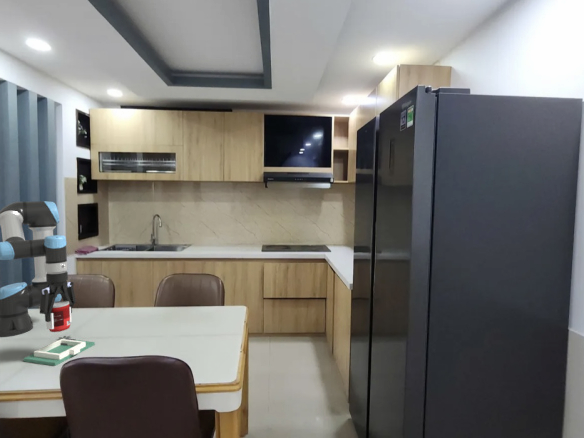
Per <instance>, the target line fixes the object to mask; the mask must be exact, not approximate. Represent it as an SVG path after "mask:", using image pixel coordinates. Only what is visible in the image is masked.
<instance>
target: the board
mask: <svg viewBox="0 0 584 438" xmlns="http://www.w3.org/2000/svg"><path fill="white" fill-rule="evenodd" d="M93 346H96V344H95V341H89V340H86V341H85V340H80V339H76V338H75V339H74V338H68V337H67V338H66V337H65V338H63V339H62V338H60V339H59V340H56V341H54V342H52V343H50V344H48V345H46V346H43V347H42V348H39V349H37V350H35V351H33V353H32V354H30V355H28V356H26V357H24V358H23V362H25V363H32V364H38V365H39V364H40V365H46V366H47V365H48V366H53V367H55V366H58V365H60V364H61V363H63V362H65V361H68V360H70V359H71V358H72V357H74V356H76V355H79V354H80V353H83V352H84V351H86V350H88V349H89V348H91V347H93Z"/></svg>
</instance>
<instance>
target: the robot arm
mask: <svg viewBox="0 0 584 438" xmlns="http://www.w3.org/2000/svg"><path fill="white" fill-rule="evenodd" d="M59 223H60V214H59V209H58V207H57V204H56V203H55V202H54V201H45V200H44V201H43V200H42V201H15V202H12V203H10V204H7V205H5V206H4V207H2V209H1V210H0V228H1V229H0V230H1V238H2V241H0V260H1V261H7V260H9V261H12V260H21V259H29V258H31V259H32V258H33V260H34V261H33V262H34V278H33V279H32V280H31V284H27V282H25V281H23V282H15V283H12V284H8V285H4V286H2V287H0V337H3V338H4V337H10V336H11V337H12V336H17V335H21V334H24V333H27V332H30V331H31V330H33V329H34V322H33V320H32V318H31V316H30V314H29V309H30V308H36V307H39V314H42V315H44V320H45V323H46V329H47V330H49V329H54V320H53V313H51V312H52V308H53V305H54V302H57V301H68V302H69V306H70V323H72V313H73V307H74V306H75V304H76V303H77V300H76V293H75V291H74V290H75V289H74V285H75V283H74V282H73V281H68V280H69V272H68V256H67V253H68V252H67V238H66V236H65V235H61V234H60V235H59V234H57V235H56V234H54V229H55V228H56V227H57V224H59ZM23 225H26V226H28V229H30V230H31V231H32V239H25V233H24V228H23Z"/></svg>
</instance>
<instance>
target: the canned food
mask: <svg viewBox="0 0 584 438" xmlns="http://www.w3.org/2000/svg"><path fill="white" fill-rule="evenodd" d="M51 313H53V320H54V329H48V330H49V332H51V333H59V332H63V331H67V330H68V329H70V327H71V322H70V306H69V302H68V301H64V300H60V301H57V302H54V305H53V308H52V312H51Z"/></svg>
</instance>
